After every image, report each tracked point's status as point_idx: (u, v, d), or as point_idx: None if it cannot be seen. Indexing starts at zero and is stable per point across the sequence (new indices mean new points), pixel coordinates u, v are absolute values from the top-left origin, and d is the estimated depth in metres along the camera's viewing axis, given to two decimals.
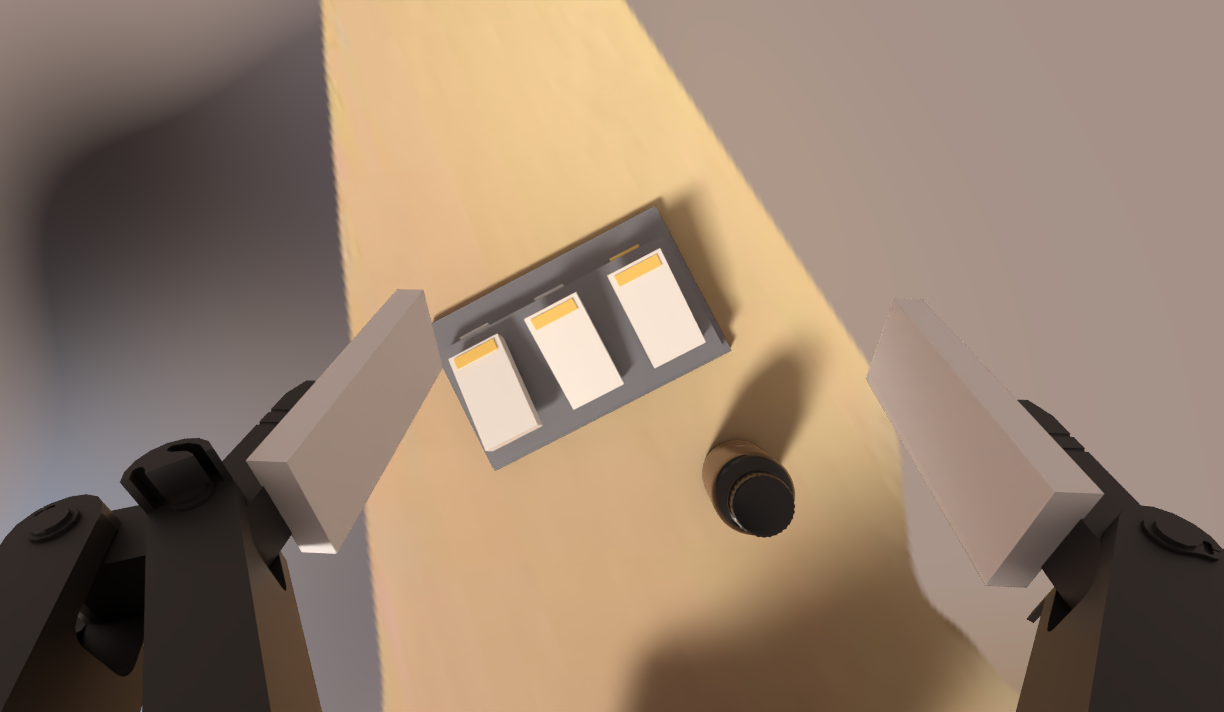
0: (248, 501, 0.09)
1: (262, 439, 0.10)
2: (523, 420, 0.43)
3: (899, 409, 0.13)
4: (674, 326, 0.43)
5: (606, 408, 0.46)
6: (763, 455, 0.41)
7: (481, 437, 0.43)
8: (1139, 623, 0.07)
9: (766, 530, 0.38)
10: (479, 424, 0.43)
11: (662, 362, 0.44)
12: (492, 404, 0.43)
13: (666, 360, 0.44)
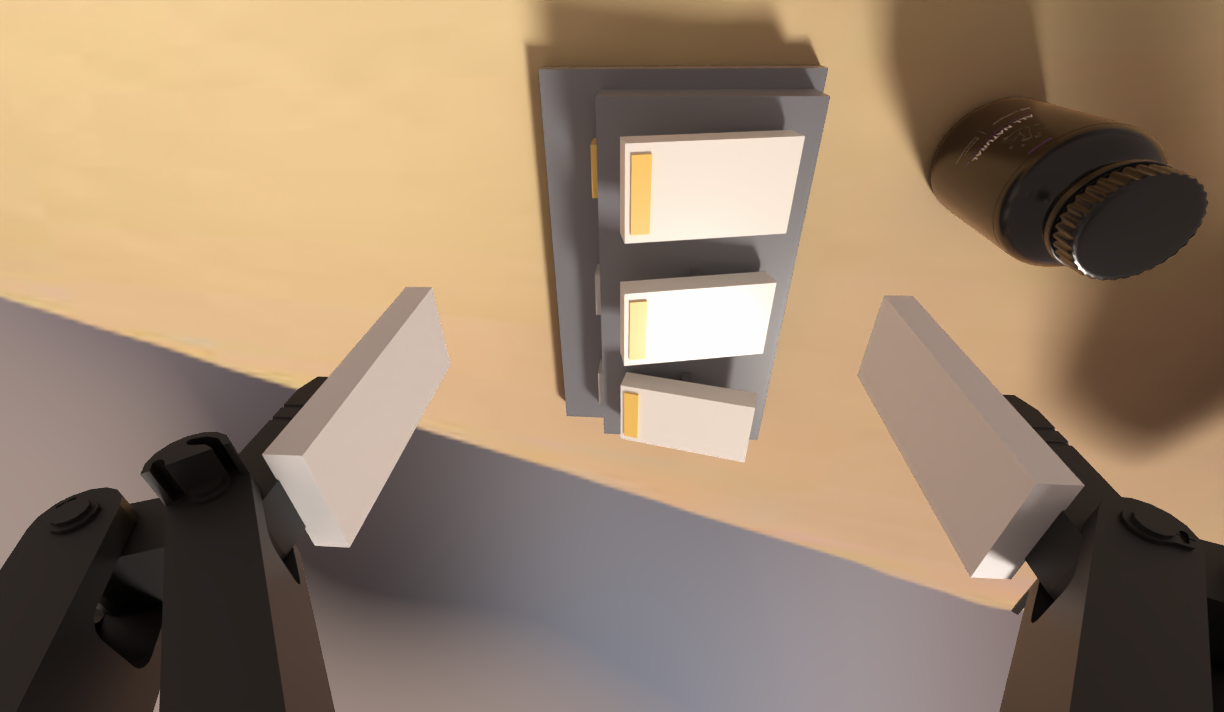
0: (264, 494, 0.09)
1: (276, 434, 0.10)
2: (738, 416, 0.33)
3: (889, 405, 0.13)
4: (750, 176, 0.26)
5: (783, 305, 0.32)
6: (1047, 153, 0.23)
7: (727, 457, 0.35)
8: (1119, 613, 0.07)
9: (1171, 245, 0.21)
10: (711, 452, 0.35)
11: (786, 218, 0.27)
12: (698, 431, 0.35)
13: (787, 211, 0.27)
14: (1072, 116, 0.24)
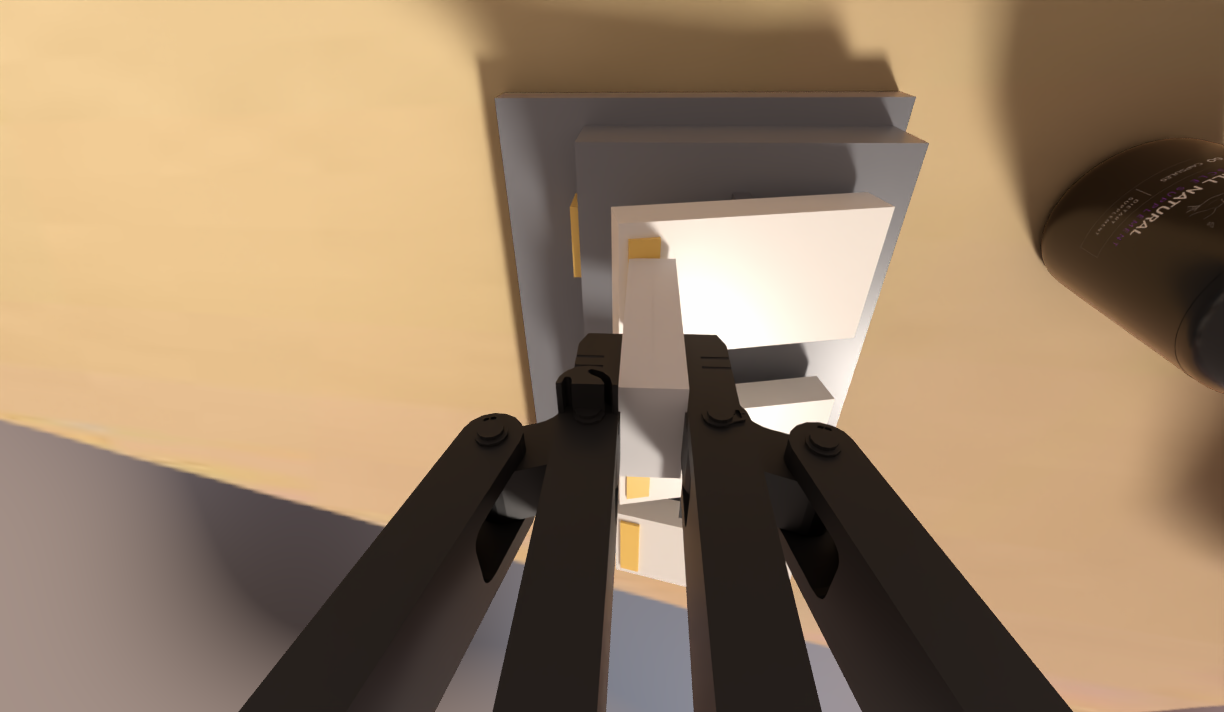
0: (617, 422, 0.10)
1: None
2: None
3: None
4: (809, 265, 0.17)
5: (837, 414, 0.24)
6: None
7: None
8: (718, 498, 0.08)
9: None
10: None
11: (856, 318, 0.18)
12: None
13: (859, 309, 0.18)
14: None
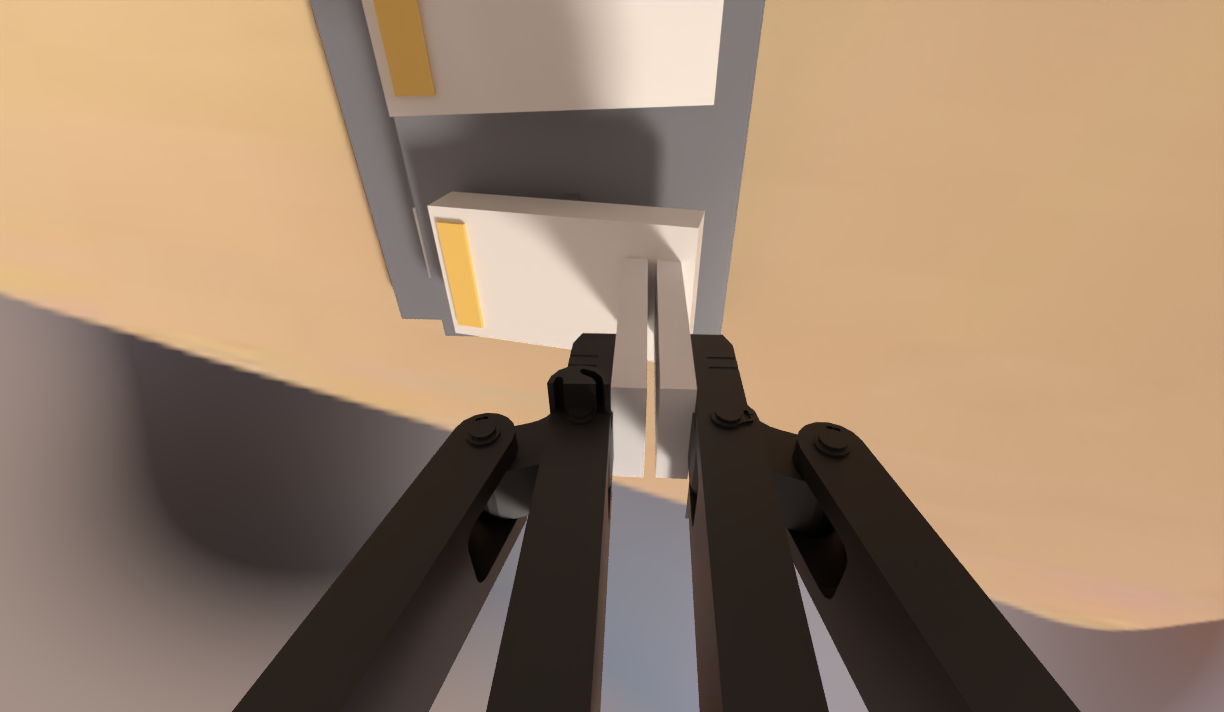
0: (610, 422, 0.10)
1: None
2: (666, 256, 0.15)
3: (654, 351, 0.15)
4: None
5: (760, 0, 0.15)
6: None
7: (652, 358, 0.18)
8: (725, 499, 0.08)
9: None
10: None
11: None
12: (590, 302, 0.17)
13: None
14: None
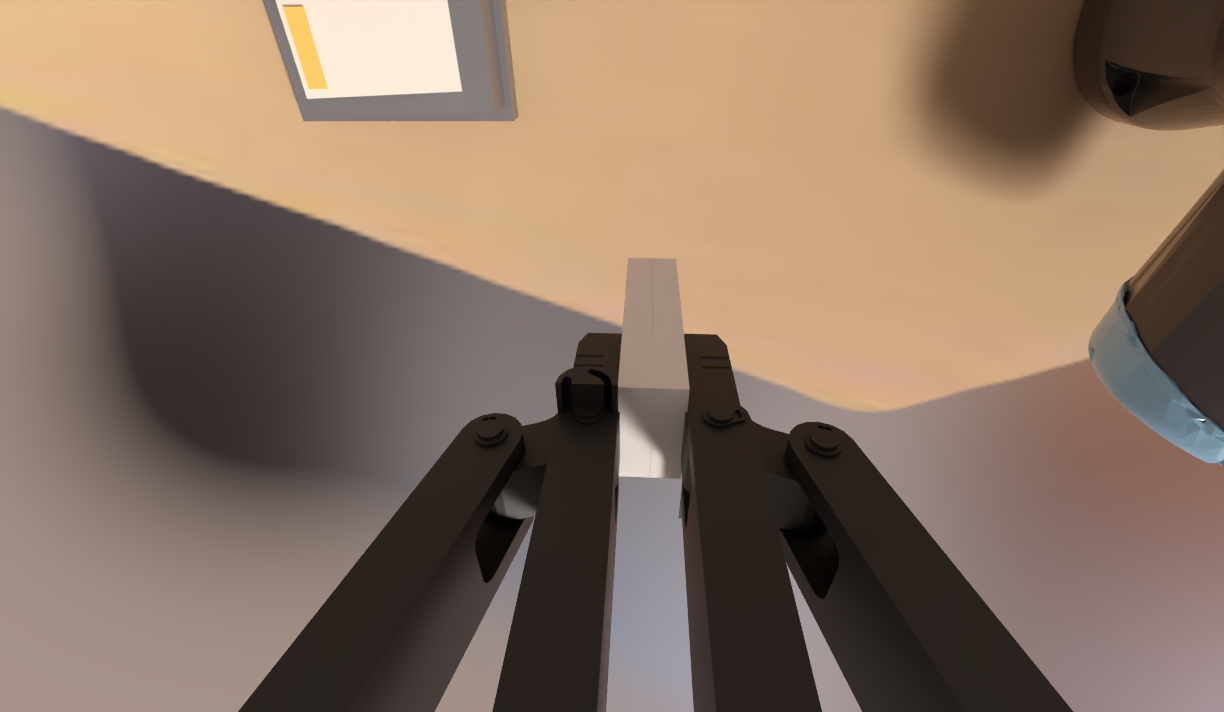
0: None
1: None
2: (433, 15, 0.29)
3: None
4: None
5: None
6: None
7: (442, 90, 0.31)
8: (718, 498, 0.08)
9: None
10: (422, 86, 0.31)
11: None
12: (396, 54, 0.30)
13: None
14: None
